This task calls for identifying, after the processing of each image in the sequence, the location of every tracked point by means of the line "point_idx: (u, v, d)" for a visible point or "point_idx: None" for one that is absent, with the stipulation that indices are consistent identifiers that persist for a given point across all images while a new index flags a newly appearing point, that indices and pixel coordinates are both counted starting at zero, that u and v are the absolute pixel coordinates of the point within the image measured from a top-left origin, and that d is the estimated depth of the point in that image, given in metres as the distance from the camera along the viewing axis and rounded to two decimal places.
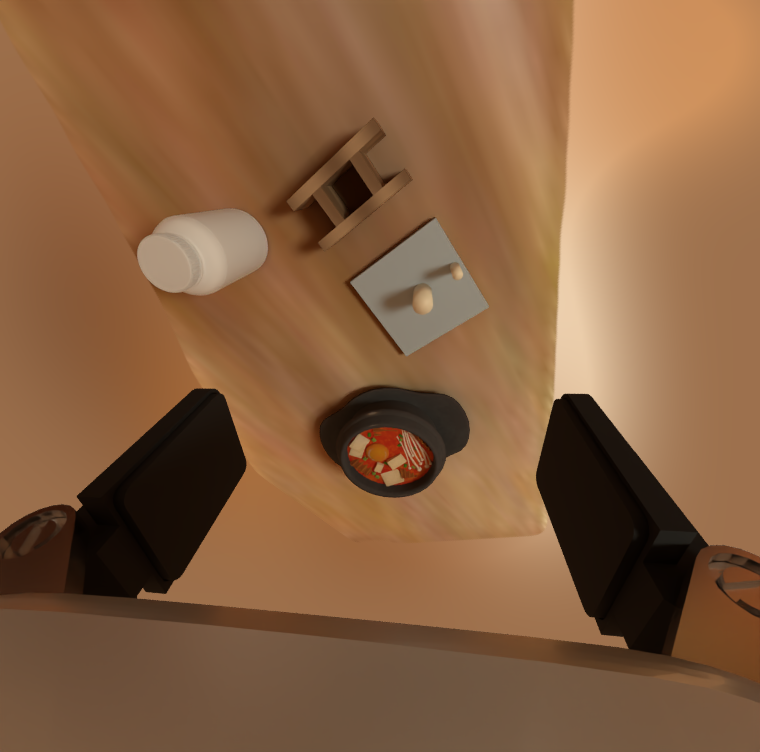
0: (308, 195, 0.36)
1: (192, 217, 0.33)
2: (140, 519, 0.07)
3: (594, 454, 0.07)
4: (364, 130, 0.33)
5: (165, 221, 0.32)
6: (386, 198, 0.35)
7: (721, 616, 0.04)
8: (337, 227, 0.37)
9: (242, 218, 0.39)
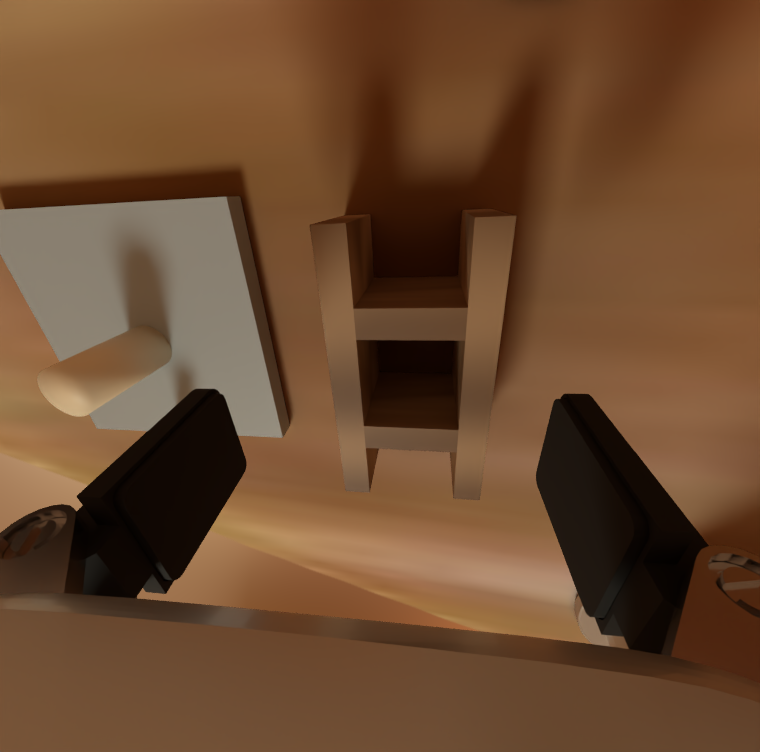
0: (473, 295, 0.11)
1: None
2: (140, 519, 0.07)
3: (594, 454, 0.07)
4: (475, 478, 0.15)
5: None
6: (342, 442, 0.15)
7: (721, 616, 0.04)
8: (350, 311, 0.12)
9: None
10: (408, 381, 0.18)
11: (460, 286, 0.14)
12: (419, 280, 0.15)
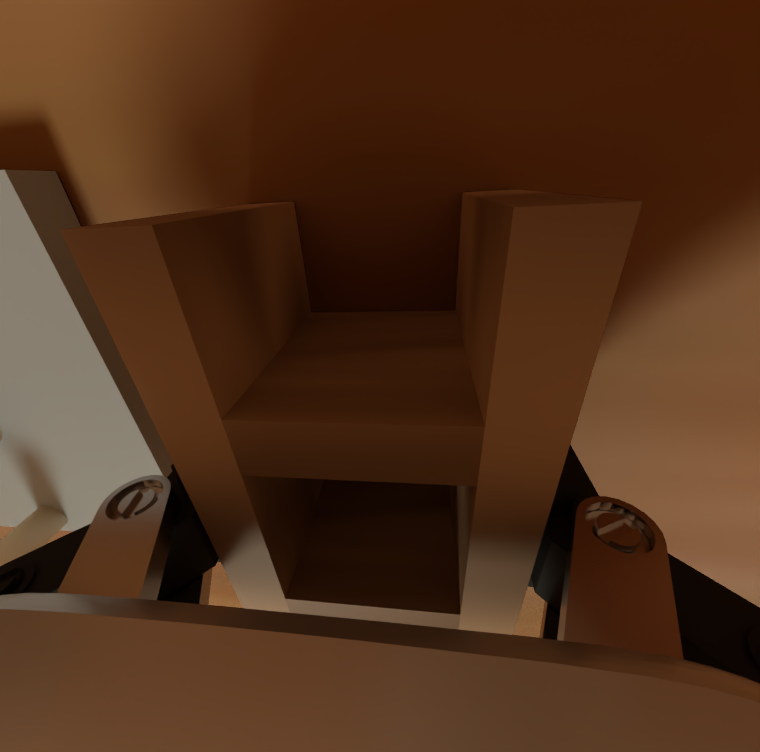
0: (499, 403, 0.05)
1: None
2: None
3: None
4: None
5: None
6: None
7: (599, 559, 0.05)
8: (216, 424, 0.05)
9: None
10: None
11: (461, 341, 0.07)
12: (387, 321, 0.09)
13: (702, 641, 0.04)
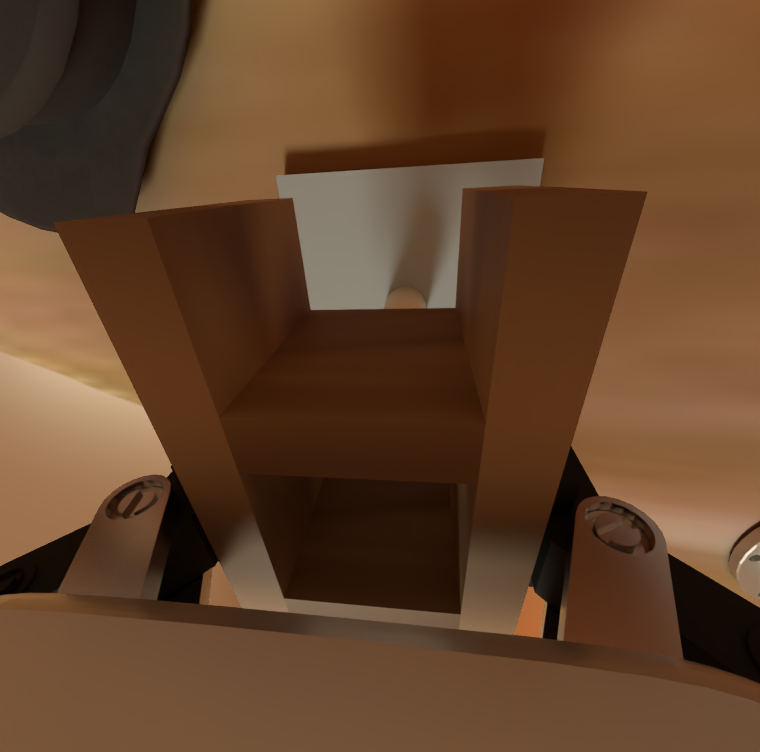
0: (500, 399, 0.04)
1: None
2: None
3: None
4: None
5: None
6: None
7: (599, 560, 0.05)
8: (213, 421, 0.05)
9: None
10: None
11: (461, 338, 0.07)
12: (386, 318, 0.09)
13: (702, 641, 0.04)
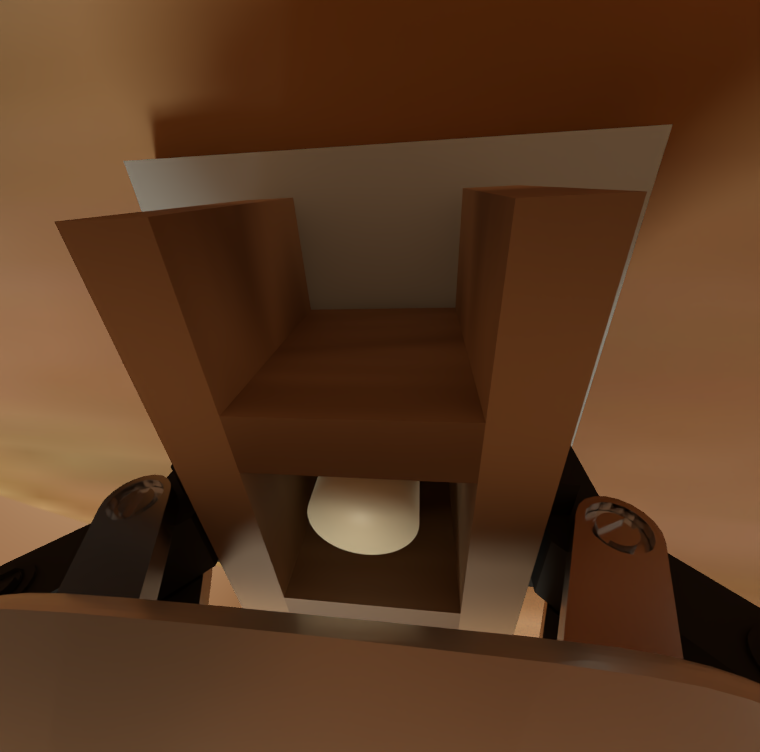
0: (500, 399, 0.04)
1: None
2: None
3: None
4: None
5: None
6: None
7: (598, 559, 0.05)
8: (213, 421, 0.05)
9: None
10: None
11: (461, 337, 0.07)
12: (386, 318, 0.09)
13: (702, 641, 0.04)
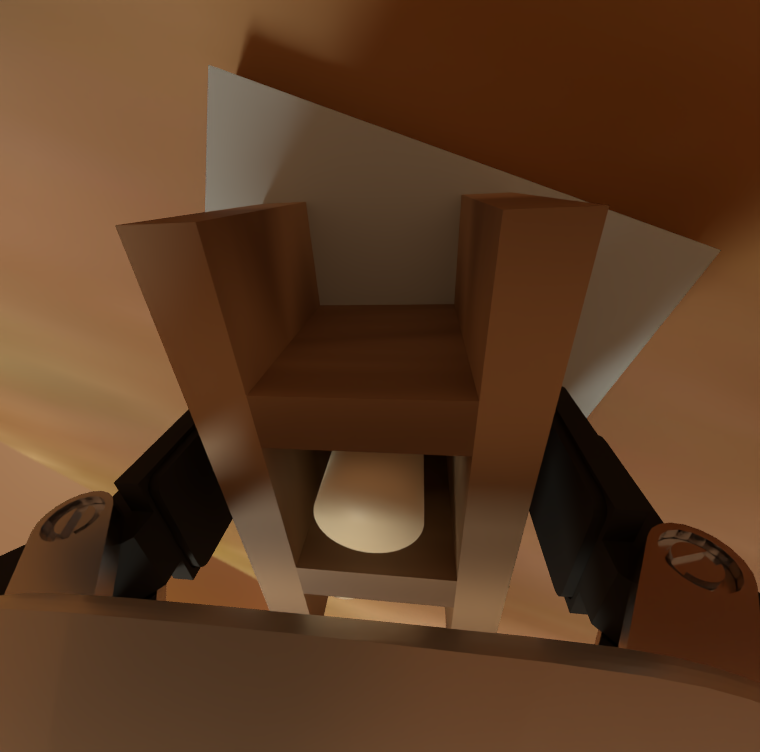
0: (491, 379, 0.05)
1: None
2: (172, 506, 0.07)
3: (563, 442, 0.07)
4: None
5: None
6: (264, 585, 0.09)
7: (671, 590, 0.05)
8: (241, 400, 0.06)
9: None
10: None
11: (459, 330, 0.08)
12: (390, 313, 0.09)
13: None
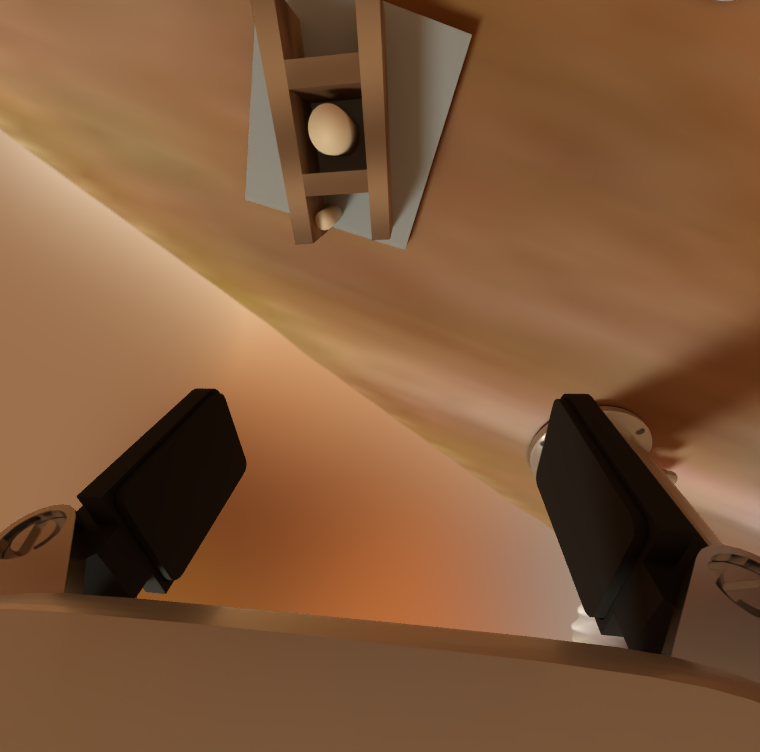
0: (360, 40, 0.17)
1: None
2: (140, 519, 0.07)
3: (594, 454, 0.07)
4: (384, 217, 0.22)
5: None
6: (288, 193, 0.21)
7: (721, 616, 0.04)
8: (282, 62, 0.18)
9: None
10: None
11: None
12: None
13: None
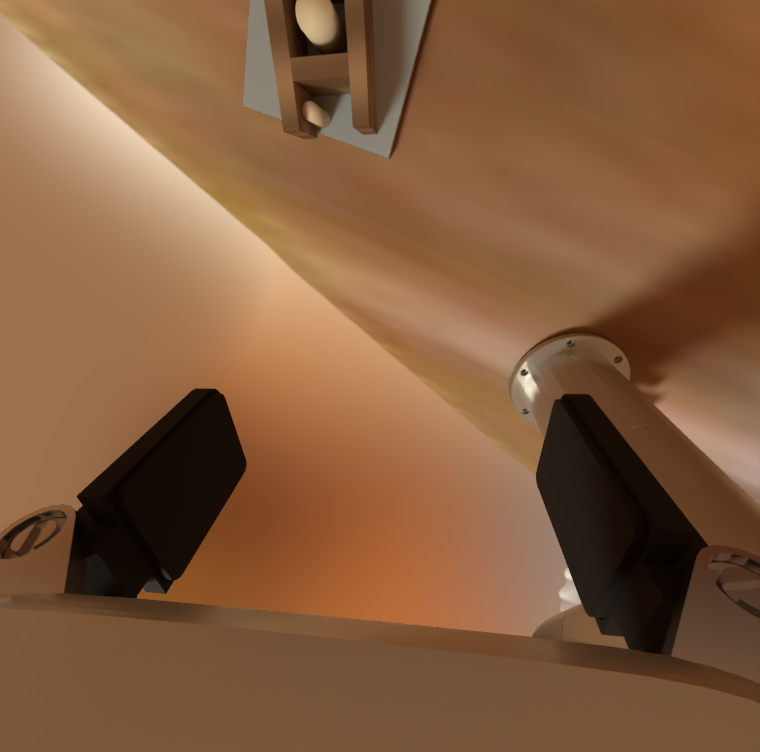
0: None
1: None
2: (140, 519, 0.07)
3: (594, 454, 0.07)
4: (364, 102, 0.24)
5: None
6: (277, 77, 0.23)
7: (721, 616, 0.04)
8: None
9: None
10: None
11: None
12: None
13: None
